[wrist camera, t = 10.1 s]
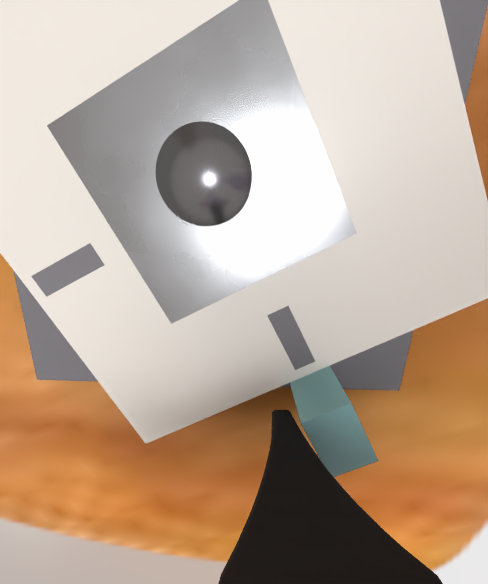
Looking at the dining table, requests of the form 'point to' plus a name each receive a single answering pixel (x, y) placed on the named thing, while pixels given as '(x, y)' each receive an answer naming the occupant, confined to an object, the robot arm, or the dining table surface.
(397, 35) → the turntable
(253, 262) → the cover
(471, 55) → the susan base
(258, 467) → the dining table surface
